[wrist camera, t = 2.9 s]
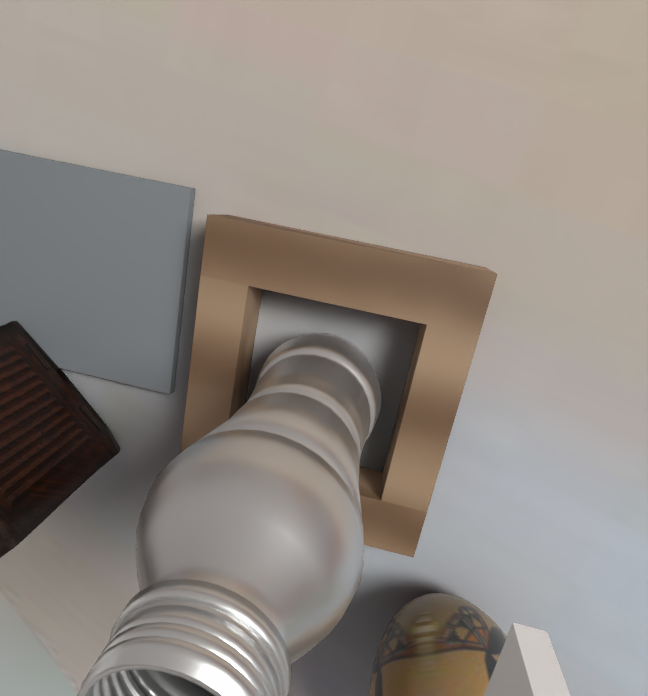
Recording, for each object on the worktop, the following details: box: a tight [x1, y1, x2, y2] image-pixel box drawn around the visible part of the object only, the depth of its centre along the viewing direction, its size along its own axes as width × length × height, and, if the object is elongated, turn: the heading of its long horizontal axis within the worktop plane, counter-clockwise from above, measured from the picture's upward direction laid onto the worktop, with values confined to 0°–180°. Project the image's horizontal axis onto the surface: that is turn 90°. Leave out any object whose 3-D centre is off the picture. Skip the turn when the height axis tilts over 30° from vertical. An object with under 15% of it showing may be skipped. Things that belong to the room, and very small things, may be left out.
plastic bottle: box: [77, 333, 381, 696], centre depth 18 cm, size 6×7×20 cm
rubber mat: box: [0, 150, 195, 394], centre depth 28 cm, size 12×12×1 cm
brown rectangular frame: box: [180, 215, 497, 557], centre depth 26 cm, size 16×14×3 cm
